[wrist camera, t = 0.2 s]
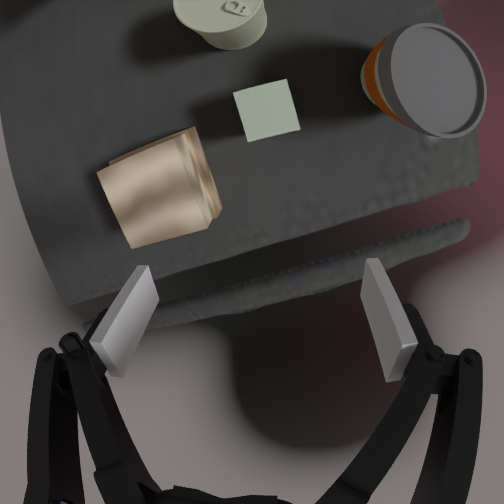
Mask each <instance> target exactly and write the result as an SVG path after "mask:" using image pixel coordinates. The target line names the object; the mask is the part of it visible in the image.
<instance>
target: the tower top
mask: <svg viewBox="0 0 504 504" xmlns="http://www.w3.org/2000/svg"><path fill="white" fill-rule="evenodd" d="M97 175H98V178H99V180H100V182H101V185H102V187H103V189H104V192H105V194H106V196H107V198H108V201H109V203H110V205H111V207H112V209H113V212H114V214H115V216H116V218H117V220H118V222H119V224H120V226H121V228H122V231H123V233H124V235H125V237H126V239H127V241H128V243H129V245H130V247H131V249H134V248H137V247H141V246H144V245H148V244H151V243H155V242H159V241H162V240H166V239H170V238H173V237H177V236H181V235H185V234H188V233H192V232H196V231H200V230H204V229H207V228H208V226H209V224H210V222H211V220H212V218H213V216H214V212H213V210H212V207H211V204H210V202H209V199H208V196H207V194H206V191H205V188H204V186H203V183H202V180H201V177H200V175H199V172H198V169H197V166H196V164H195V161H194V158H193V155H192V153H191V150H190V147H189V144H188V142H187V139H186V136H185V133H184V134H182V135H179V136H176V137H174V138H171V139H169V140H166V141H164V142H161V143H159V144H156V145H154V146H151V147H149V148H147V149H144V150H142V151H140V152H137V153H135V154H133V155H131V156H128V157H126V158H124V159H122V160H120V161H118V162H116V163H113V164H112V165H110V166H108V167H106V168H104V169H102V170H100V171H99V172H97Z"/></svg>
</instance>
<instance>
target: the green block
mask: <svg viewBox="0 0 504 504" xmlns="http://www.w3.org/2000/svg"><path fill="white" fill-rule="evenodd" d="M233 95H234V98H235V101H236V104H237V108H238V111H239V114H240V117H241V121H242V124H243V127H244V130H245V134H246V137H247V140H248V142H251V141H255V140H258V139H262V138H266V137H270V136H275V135H279V134H283V133H287V132H292V131H297V130H300V126H299V122H298V118H297V114H296V111H295V107H294V103H293V100H292V96H291V93H290V89H289V86H288V83H287V79H284V80H280V81H275V82H271V83H267V84H263V85H259V86H255V87H251V88H248V89H244V90H240V91H237V92H234V93H233Z"/></svg>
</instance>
